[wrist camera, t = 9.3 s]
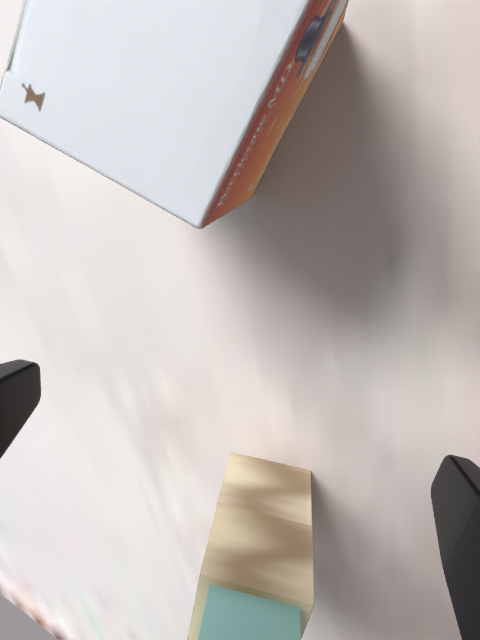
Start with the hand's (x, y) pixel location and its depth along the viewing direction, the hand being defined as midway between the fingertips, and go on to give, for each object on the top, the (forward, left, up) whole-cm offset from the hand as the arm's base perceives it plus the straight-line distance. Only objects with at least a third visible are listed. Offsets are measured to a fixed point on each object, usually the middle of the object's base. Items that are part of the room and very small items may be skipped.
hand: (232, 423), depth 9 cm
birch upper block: (-2, +14, -9) cm, 17 cm away
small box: (+3, -8, -13) cm, 15 cm away
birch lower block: (-2, +14, -13) cm, 19 cm away
